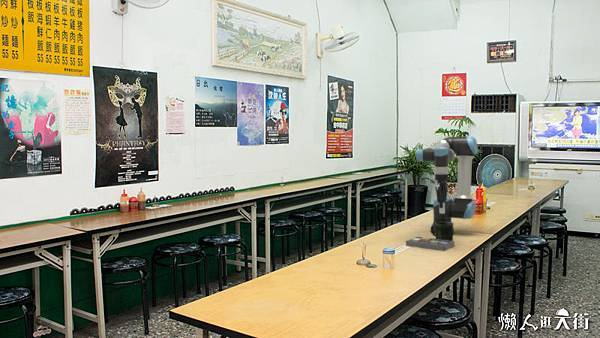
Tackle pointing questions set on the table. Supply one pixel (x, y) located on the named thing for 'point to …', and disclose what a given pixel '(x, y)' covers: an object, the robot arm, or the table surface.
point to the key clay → (425, 239)
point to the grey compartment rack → (429, 245)
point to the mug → (443, 230)
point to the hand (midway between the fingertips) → (442, 213)
